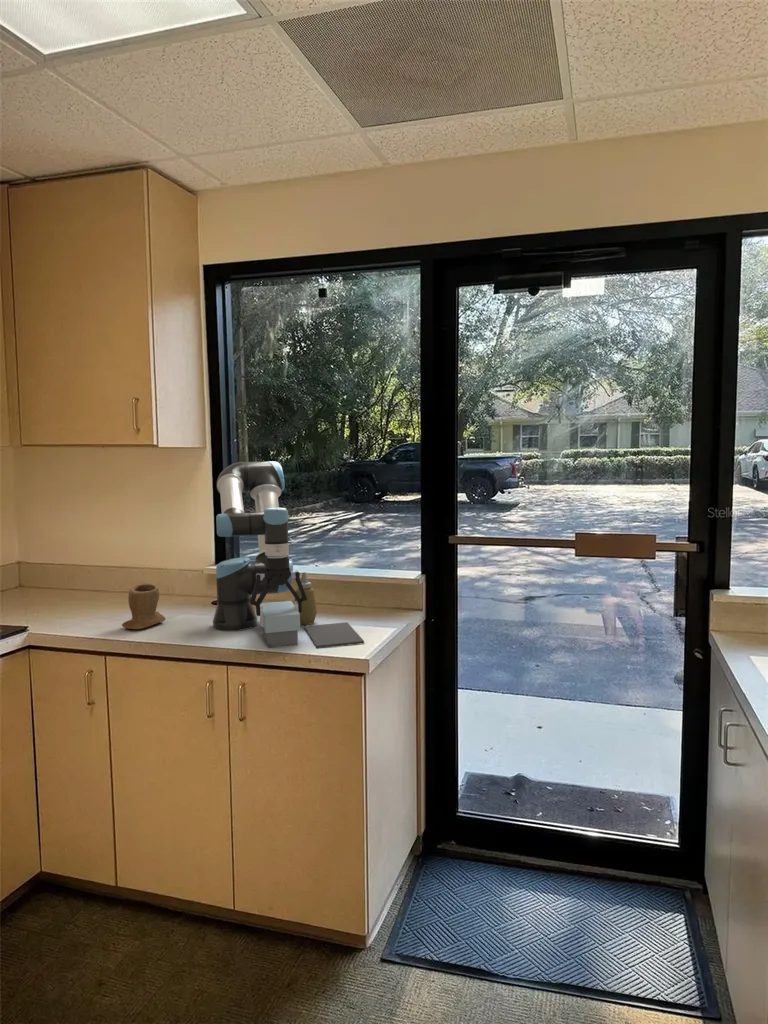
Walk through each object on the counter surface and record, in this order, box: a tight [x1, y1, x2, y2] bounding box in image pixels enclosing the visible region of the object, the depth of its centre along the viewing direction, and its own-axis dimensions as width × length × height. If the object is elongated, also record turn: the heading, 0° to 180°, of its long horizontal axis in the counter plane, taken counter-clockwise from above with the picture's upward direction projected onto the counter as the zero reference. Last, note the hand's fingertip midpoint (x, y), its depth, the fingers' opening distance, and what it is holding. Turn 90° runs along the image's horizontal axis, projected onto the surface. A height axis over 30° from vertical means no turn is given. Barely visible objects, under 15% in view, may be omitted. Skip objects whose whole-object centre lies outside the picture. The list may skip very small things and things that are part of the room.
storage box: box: [262, 627, 299, 649], centre depth 209 cm, size 18×9×9 cm, turn 16°
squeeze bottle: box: [293, 571, 318, 626], centre depth 228 cm, size 8×8×18 cm
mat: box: [303, 621, 365, 649], centre depth 212 cm, size 24×15×1 cm, turn 16°
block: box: [260, 600, 301, 633], centre depth 209 cm, size 20×11×5 cm, turn 16°
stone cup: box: [121, 583, 166, 630], centre depth 228 cm, size 15×12×15 cm
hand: (279, 624), depth 209 cm, fingers closed on block, 11 cm apart
